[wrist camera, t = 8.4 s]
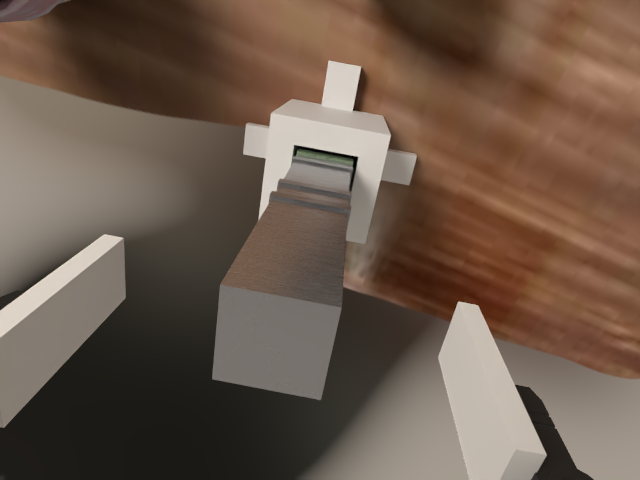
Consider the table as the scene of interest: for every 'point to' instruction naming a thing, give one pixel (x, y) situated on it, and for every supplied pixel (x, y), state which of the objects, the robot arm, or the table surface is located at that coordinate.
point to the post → (288, 282)
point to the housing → (332, 144)
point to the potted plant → (25, 9)
